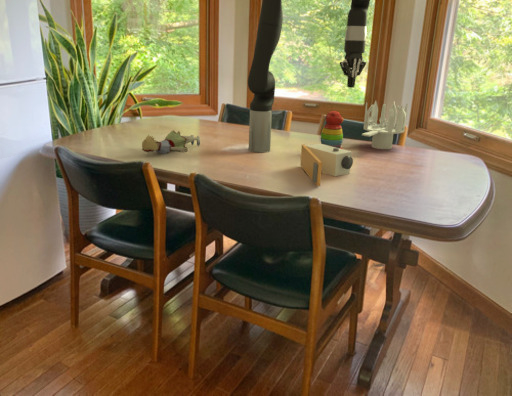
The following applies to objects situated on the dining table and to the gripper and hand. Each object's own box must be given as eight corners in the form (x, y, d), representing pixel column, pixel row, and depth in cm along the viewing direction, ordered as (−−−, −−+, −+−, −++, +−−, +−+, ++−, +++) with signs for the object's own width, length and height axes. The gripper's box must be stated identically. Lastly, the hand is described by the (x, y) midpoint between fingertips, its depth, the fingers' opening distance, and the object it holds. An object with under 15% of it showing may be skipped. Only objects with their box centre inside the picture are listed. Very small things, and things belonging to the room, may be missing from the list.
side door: (298, 165, 176) (299, 144, 173) (302, 165, 176) (304, 144, 174) (314, 185, 152) (316, 162, 149) (320, 185, 152) (321, 162, 149)
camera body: (303, 166, 177) (304, 143, 174) (318, 163, 181) (319, 141, 178) (337, 177, 164) (339, 153, 161) (352, 173, 169) (355, 150, 166)
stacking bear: (342, 156, 194) (346, 113, 188) (318, 154, 195) (321, 112, 190) (343, 150, 204) (347, 110, 198) (320, 149, 205) (323, 108, 200)
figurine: (175, 141, 212) (123, 151, 188) (175, 123, 209) (122, 130, 186) (217, 151, 199) (166, 163, 175) (217, 131, 196) (165, 141, 173)
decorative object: (344, 151, 203) (348, 105, 196) (371, 141, 225) (375, 99, 218) (383, 158, 193) (389, 109, 186) (407, 147, 215) (413, 103, 208)
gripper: (351, 39, 164) (346, 89, 170) (374, 40, 172) (369, 87, 178) (335, 38, 170) (331, 87, 176) (359, 39, 178) (354, 85, 183)
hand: (350, 87), depth 177 cm, fingers closed
